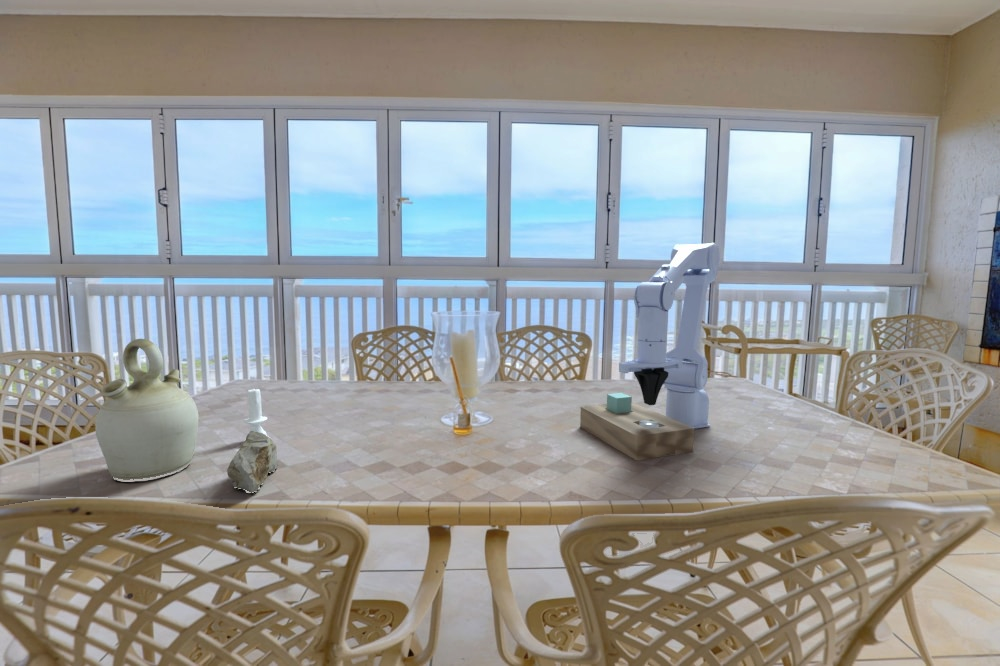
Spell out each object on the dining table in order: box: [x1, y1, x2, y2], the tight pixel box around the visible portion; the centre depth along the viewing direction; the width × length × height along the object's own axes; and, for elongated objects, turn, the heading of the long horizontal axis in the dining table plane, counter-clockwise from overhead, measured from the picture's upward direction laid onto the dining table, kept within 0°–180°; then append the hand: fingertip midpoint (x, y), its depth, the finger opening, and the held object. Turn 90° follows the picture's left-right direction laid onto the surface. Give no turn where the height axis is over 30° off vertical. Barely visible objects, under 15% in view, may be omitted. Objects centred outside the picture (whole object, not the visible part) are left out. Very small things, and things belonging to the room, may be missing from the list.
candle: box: [243, 388, 269, 437], centre depth 103 cm, size 5×5×12 cm
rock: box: [226, 431, 279, 493], centre depth 82 cm, size 12×7×10 cm, turn 6°
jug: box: [94, 338, 200, 480], centre depth 87 cm, size 15×16×25 cm
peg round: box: [639, 420, 659, 429], centre depth 99 cm, size 4×4×5 cm
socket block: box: [579, 402, 695, 462], centre depth 104 cm, size 14×22×5 cm, turn 20°
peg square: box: [606, 392, 633, 414], centre depth 109 cm, size 4×4×5 cm
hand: (649, 403), depth 98 cm, fingers closed
